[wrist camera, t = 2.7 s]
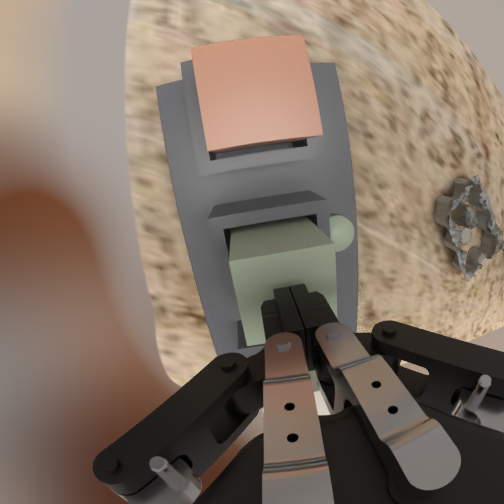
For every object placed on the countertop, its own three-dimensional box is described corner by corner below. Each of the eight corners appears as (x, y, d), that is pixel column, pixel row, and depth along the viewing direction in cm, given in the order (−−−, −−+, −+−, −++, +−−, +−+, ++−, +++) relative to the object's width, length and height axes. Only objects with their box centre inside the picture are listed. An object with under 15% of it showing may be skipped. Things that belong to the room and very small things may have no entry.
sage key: (305, 215, 18) (334, 243, 13) (311, 282, 20) (337, 329, 14) (231, 228, 18) (228, 261, 13) (244, 294, 20) (247, 346, 14)
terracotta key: (282, 70, 15) (302, 34, 9) (295, 141, 17) (323, 135, 11) (205, 81, 15) (190, 48, 9) (217, 153, 17) (207, 151, 11)
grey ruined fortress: (485, 240, 25) (506, 251, 21) (450, 277, 26) (470, 292, 23) (464, 166, 22) (490, 171, 18) (424, 203, 23) (450, 212, 19)
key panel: (328, 67, 19) (356, 44, 13) (350, 346, 28) (369, 383, 22) (161, 90, 19) (136, 71, 13) (225, 370, 28) (224, 411, 22)
